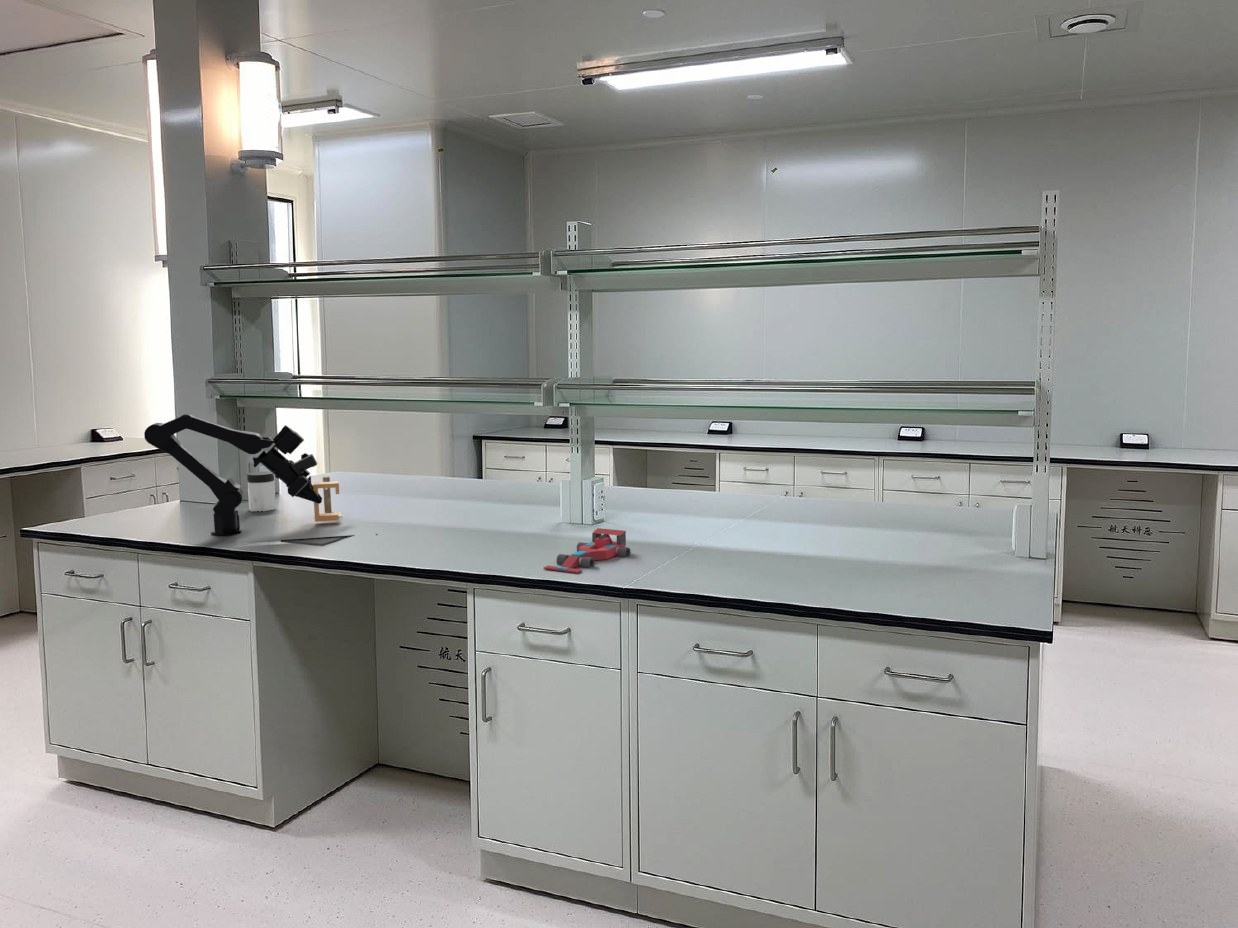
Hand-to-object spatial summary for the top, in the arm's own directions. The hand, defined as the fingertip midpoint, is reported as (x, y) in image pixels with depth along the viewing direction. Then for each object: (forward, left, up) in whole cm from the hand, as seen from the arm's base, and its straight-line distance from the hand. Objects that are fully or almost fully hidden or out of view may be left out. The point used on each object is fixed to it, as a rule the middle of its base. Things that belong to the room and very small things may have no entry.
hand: (321, 501), depth 286 cm
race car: (-14, -92, -8) cm, 93 cm away
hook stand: (+6, +3, -8) cm, 11 cm away
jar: (+18, +39, -8) cm, 43 cm away
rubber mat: (-14, -10, -8) cm, 19 cm away
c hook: (+1, -1, -6) cm, 6 cm away
